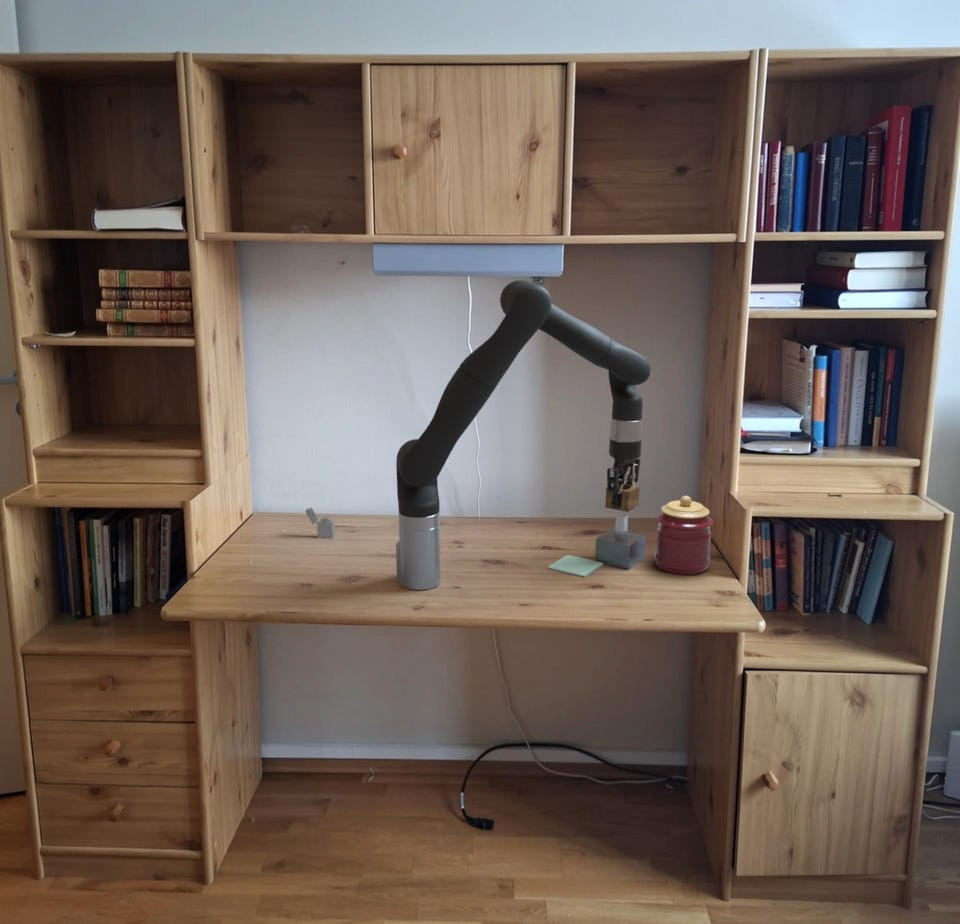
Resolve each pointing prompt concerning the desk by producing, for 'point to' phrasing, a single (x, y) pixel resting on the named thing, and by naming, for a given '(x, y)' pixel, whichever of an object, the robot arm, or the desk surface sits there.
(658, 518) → the canister
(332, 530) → the lighter
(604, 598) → the desk surface
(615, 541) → the block
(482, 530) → the desk surface
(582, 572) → the mat
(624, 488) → the hollow wooden block
